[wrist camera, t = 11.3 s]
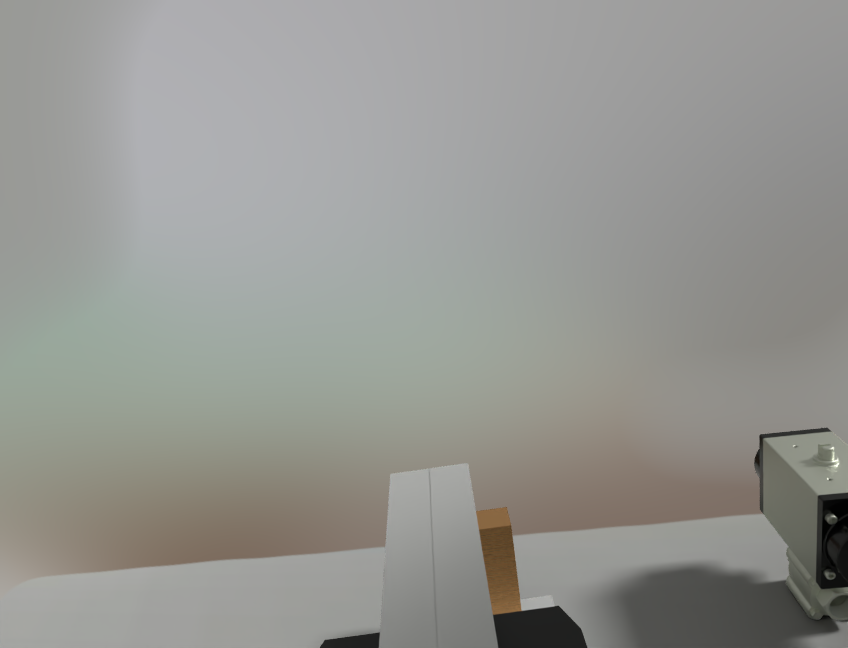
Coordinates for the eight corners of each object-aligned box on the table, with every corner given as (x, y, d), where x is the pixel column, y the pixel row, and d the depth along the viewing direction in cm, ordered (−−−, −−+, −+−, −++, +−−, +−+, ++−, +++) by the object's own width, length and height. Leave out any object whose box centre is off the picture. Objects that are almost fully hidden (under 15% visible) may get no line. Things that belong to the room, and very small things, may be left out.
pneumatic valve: (831, 669, 41) (836, 497, 38) (752, 553, 52) (751, 412, 49) (927, 663, 40) (940, 487, 37) (826, 546, 52) (830, 403, 48)
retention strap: (531, 694, 34) (511, 525, 32) (435, 706, 35) (406, 539, 32) (498, 536, 48) (481, 408, 45) (429, 545, 48) (408, 418, 45)
